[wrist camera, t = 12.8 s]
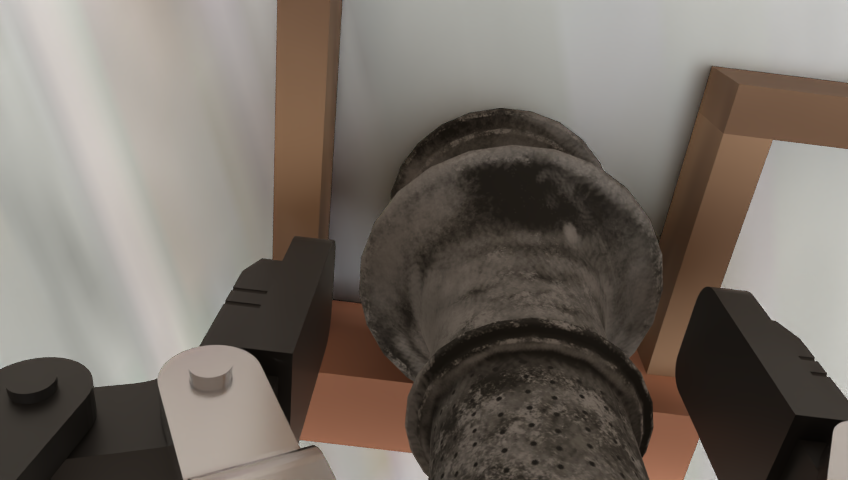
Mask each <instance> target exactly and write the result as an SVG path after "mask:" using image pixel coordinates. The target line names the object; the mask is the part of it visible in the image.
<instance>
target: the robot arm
mask: <svg viewBox="0 0 848 480" xmlns="http://www.w3.org/2000/svg"><path fill="white" fill-rule="evenodd" d="M334 266H335V241H334V240H326V239H318V238H309V237H301V236H294V238H293V239H292V242H291V244H290V246H289V248H288V250H287V252H286V254H285V256H284V258H283V260H282V261H279V260H271V259H263V258H262V259H260V260H259V261H257V262H256V263H254V264H253V265H251V266H250V267H248V268H246V269H245V270H243V271H242V273H241V275H240V276H239V278H238V280H237V282H236V283H235V285H234V287H233V290H231V292H230V294H229V296H228V297H227V299H226V302H225V304H223V306H222V308H221V309H220V311H219V313H218V315H217V316H216V318H215V320H214V322H213V323H212V325H211V327H210V329H209V330H208V332H207V334H206V336H205V337H204V339H203V341H202V343H201V344H200V346H199V347H196V348H192V349H189V350H186V351H183V352H181V353H179V354H177V355H175V356H174V357H172V358H171V359H170V360H168V361H167V362H166V363H165V364H164V365H163V367H162V368H161V370H160V372H159V374H158V379H155V380H151V381H147V382H142V383H135V384H125V385H115V386H105V387H94V386H93V379H92V375H91V373H90V371H89V370H88V369H87V368H86V367H85V366H84V365H82V364H80V363H78V362H76V361H73V360H69V359H65V358H56V357H45V358H35V359H30V360H25V361H21V362H17V363H14V364H12V365H9V366H6V367H4V368H2V369H0V480H336V478H335V476H334V474H333V472H332V470H331V468H330V466H329V464H328V462H327V460H326V458H325V457H324V455H323V453H322V452H321V450H320V449H319V448H318V447H317V446H315V445H312V446H308V447H304V448H300V447H299V445H298V443H299V439H300V436H301V432H302V429H303V426H304V422H305V419H306V415H307V412H308V408H309V405H310V401H311V398H312V394H313V391H314V388H315V384H316V381H317V377H318V374H319V370H320V367H321V363H322V360H323V356H324V353H325V350H326V346H327V341H328V336H329V330H330V323H331V313H332V298H333V282H334ZM826 375H827V373H826V372H825V370H824V369H823V368H822V366H821V365H820V364H819V363H818V362H817V361H814V356H813V355H812V354H811V352H810V351H809V350H808V349H807V347H806V346H805V345H804V343H803V342H802V341H801V340H800V339H799V338H798V337H797V336H795V335H794V334H793V333H791V332H790V331H789V330H787V329H786V328H784V327H783V326H782V325H780V324H779V323H778V322H776V321H772V320H771V319H770V318H769V316H768V315H767V314H766V312H765V311H764V310H763V308H762V307H761V306H760V304H759V303H758V302H757V300H756V299H755V298H754V296H753V295H752V294H751V293H750V292H748V291H741V290H733V289H725V288H717V287H705V288H703V289H702V290H701V292H700V293H699V295H698V297H697V300H696V303H695V306H694V308H693V311H692V314H691V317H690V320H689V323H688V326H687V329H686V332H685V335H684V338H683V341H682V344H681V347H680V350H679V353H678V356H677V360H676V367H675V379H676V385H677V389H678V391H679V394H680V396H681V398H682V400H683V403H684V405H685V407H686V409H687V411H688V414H689V416H690V418H691V420H692V422H693V425H694V427H695V429H696V431H697V434H698V436H699V438H700V440H701V442H702V445H703V447H704V449H705V451H706V453H707V456H708V458H709V460H710V462H711V465H712V467H713V469H714V471H715V473H716V476H717V478H718V480H848V400H847V399H846V397H845V396H844V395H843V393H842V392H841V391H840V390H839V388H838V387H837V386H836V384H835V383H834V382H833V381H832V379H831V378H830V377H827V376H826Z"/></svg>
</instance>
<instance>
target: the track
mask: <svg viewBox="0 0 848 480" xmlns="http://www.w3.org/2000/svg"><path fill="white" fill-rule="evenodd" d="M341 13H342V0H277V47H276V102H275V157H274V212H273V260H279V261H282V260H283V258H284V256H285V254H286V252H287V250H288V248H289V246H290V244H291V242H292V239H293V238H294V236H301V237H309V238H318V239H326V240H328V236H329V218H330V201H331V184H332V167H333V150H334V133H335V116H336V98H337V81H338V64H339V47H340V30H341ZM773 140H780V141H788V142H796V143H804V144H812V145H820V146H828V147H836V148H844V149H848V83H843V82H835V81H827V80H819V79H811V78H803V77H795V76H787V75H779V74H771V73H763V72H755V71H747V70H739V69H731V68H723V67H715V66H712V68H711V71H710V75H709V78H708V81H707V85H706V88H705V91H704V95H703V98H702V101H701V105H700V108H699V111H698V115H697V118H696V121H695V125H694V128H693V131H692V135H691V138H690V141H689V145H688V148H687V151H686V155H685V158H684V161H683V165H682V168H681V171H680V175H679V178H678V181H677V185H676V188H675V191H674V195H673V198H672V201H671V205H670V208H669V211H668V215H667V218H666V221H665V225H664V228H663V231H662V235H661V238H660V241H659V246H660V249H661V252H662V262H663V291H662V295H661V298H660V302H659V305H658V308H657V312H656V315H655V319H654V322H653V324H652V326H651V328H650V329H649V331H648V332H647V334H646V335H645V337H644V339H643V340H642V342H641V343H640V345H639V347H638V348H637V350H636V351H635V353H634V354H633V355H632V356H631V357H630V358H629V359H630V360H631V361H632V362H633V363H634V365H635V366H636V367H637V368H638V370H639V371H640V372H641V373H642V376H643V379H644V381H645V384H646V386H647V389H648V391H649V394H650V396H651V399H652V402H653V426H654V428H653V431H652V435H651V438H650V441H649V445H648V448H647V451H646V453H645V455H644V456H643V458H642V459H643V462H644V465H645V468H646V471H647V474H648V477H649V480H683V479H684V477H685V474H686V471H687V469H688V466H689V464H690V461H691V458H692V456H693V453H694V451H695V448H696V445H697V443H698V440H699V436H698V434H697V431H696V429H695V427H694V425H693V422H692V420H691V418H690V416H689V414H688V411H687V409H686V407H685V405H684V403H683V400H682V398H681V396H680V394H679V391H678V389H677V385H676V379H675V367H676V360H677V356H678V353H679V350H680V347H681V344H682V341H683V338H684V335H685V332H686V329H687V326H688V323H689V320H690V317H691V314H692V311H693V308H694V306H695V303H696V300H697V297H698V295H699V293H700V292H701V290H702V289H703V288H705V287H717V288H720V287H721V284H722V281H723V278H724V276H725V273H726V270H727V267H728V264H729V262H730V259H731V256H732V253H733V250H734V247H735V245H736V242H737V239H738V236H739V233H740V231H741V228H742V225H743V222H744V219H745V217H746V214H747V211H748V208H749V205H750V202H751V200H752V197H753V194H754V191H755V188H756V186H757V183H758V180H759V177H760V174H761V172H762V169H763V166H764V163H765V160H766V157H767V155H768V152H769V149H770V146H771V143H772V141H773ZM413 383H414V381H412V380H410V379H409V378H407V377H406V376H405V375H404V374H403V373H402V372H401V371H400V370H399V369H398V368H397V367H396V366H395V365H394V364H393V363H392V362H391V361H390V360H389V359H388V358H387V357H386V356H385V355H384V354H383V352H382V351H381V349H380V347H379V345H378V344H377V342H376V340H375V338H374V337H373V335H372V333H371V331H370V330H369V328H368V326H367V324H366V320H365V315H364V311H363V307H362V304H361V303H353V302H345V301H336V300H332V313H331V323H330V330H329V336H328V341H327V346H326V350H325V353H324V356H323V360H322V363H321V367H320V370H319V374H318V377H317V381H316V384H315V388H314V391H313V394H312V398H311V401H310V405H309V408H308V412H307V415H306V419H305V422H304V426H303V429H302V432H301V436H300V439H299V440H306V441H314V442H323V443H331V444H340V445H348V446H357V447H366V448H374V449H383V450H391V451H400V452H408V453H412V452H411V450H410V445H409V441H408V437H407V433H406V429H405V418H406V408H407V397H408V394H409V392H410V390H411V388H412V385H413Z"/></svg>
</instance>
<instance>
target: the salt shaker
mask: <svg viewBox="0 0 848 480" xmlns="http://www.w3.org/2000/svg"><path fill="white" fill-rule="evenodd" d="M662 291H663V262H662V252H661V249H660V246H659V244H658V241H657V238H656V235H655V232H654V229H653V226H652V223H651V220H650V219H649V217H648V216H647V215H646V213H645V212H644V211H643V209H642V208H641V207H640V205H639V204H638V203H637V201H636V200H635V198H634V197H633V196H632V194H631V193H630V192H629V190H628V189H627V188H626V187H625V186H623V185H622V184H621V183H619V182H618V181H617V180H615V179H614V178H612V177H611V176H610V175H608V174H607V173H606V172H604V171H603V170H602V167H601V164H600V162H599V161H598V160H597V158H596V157H595V156H594V154H593V153H592V152H591V150H590V149H589V148H588V146H587V145H586V144H585V142H584V141H583V140H582V139H581V138H579V137H578V136H577V135H575V134H574V133H573V132H571V131H570V130H569V129H567V128H566V127H565V126H563V125H562V124H561V123H559V122H557V121H554V120H552V119H549V118H547V117H544V116H541V115H539V114H536V113H534V112H530V111H521V110H512V109H503V108H499V109H493V110H486V111H479V112H473V113H469V114H466V115H464V116H462V117H459V118H457V119H454V120H452V121H450V122H447V123H445V124H443V125H441V126H440V127H439V128H437V129H436V130H435V131H433V132H432V133H431V134H429V135H428V136H427V137H426V138H424V139H423V140H422V141H420V142H419V143H418V144H417V146H416V147H415V148H414V150H413V151H412V152H411V154H410V155H409V156H408V158H407V159H406V160H405V162H404V163H403V164H402V166H401V168H400V171H399V173H398V176H397V178H396V181H395V184H394V186H393V189H392V192H391V201H390V203H389V204H388V205H387V207H386V208H385V209H384V211H383V212H382V213H381V214H380V216H379V217H378V218H377V220H376V221H375V223H374V225H373V228H372V230H371V233H370V236H369V238H368V241H367V244H366V246H365V249H364V251H363V254H362V257H361V270H360V285H359V294H360V299H361V303H362V307H363V311H364V315H365V320H366V324H367V326H368V328H369V330H370V331H371V333H372V335H373V337H374V338H375V340H376V342H377V344H378V345H379V347H380V349H381V351H382V352H383V354H384V355H385V356H386V357H387V358H388V359H389V360H390V361H391V362H392V363H393V364H394V365H395V366H396V367H397V368H398V369H399V370H400V371H401V372H402V373H403V374H404V375H405V376H406V377H407V378H409V379H410V380H412V381H414V383H413V385H412V388H411V390H410V392H409V394H408V397H407V408H406V418H405V429H406V433H407V437H408V441H409V445H410V450H411V452H412V453H413V455H414V457H415V458H416V460H417V462H418V463H419V465H420V467H421V468H422V470H423V472H424V473H425V474H426V475H427V476H428V477H429V480H649V477H648V474H647V471H646V468H645V465H644V462H643V459H642V458H643V456H644V455H645V453H646V451H647V448H648V445H649V441H650V438H651V435H652V431H653V428H654V426H653V402H652V399H651V396H650V394H649V391H648V389H647V386H646V384H645V381H644V379H643V376H642V373H641V372H640V371H639V370H638V368H637V367H636V366H635V365H634V363H633V362H632V361H631V360H630V359H629V358H630V357H631V356H632V355H633V354H634V353H635V351H636V350H637V348H638V347H639V345H640V343H641V342H642V340H643V339H644V337H645V335H646V334H647V332H648V331H649V329H650V328H651V326H652V324H653V322H654V319H655V315H656V312H657V308H658V305H659V302H660V298H661V295H662Z"/></svg>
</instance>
